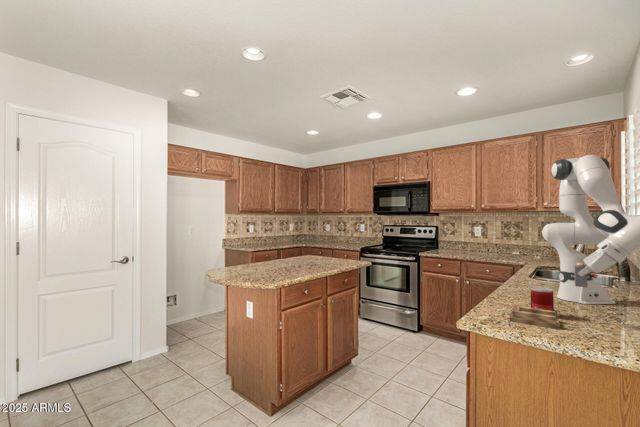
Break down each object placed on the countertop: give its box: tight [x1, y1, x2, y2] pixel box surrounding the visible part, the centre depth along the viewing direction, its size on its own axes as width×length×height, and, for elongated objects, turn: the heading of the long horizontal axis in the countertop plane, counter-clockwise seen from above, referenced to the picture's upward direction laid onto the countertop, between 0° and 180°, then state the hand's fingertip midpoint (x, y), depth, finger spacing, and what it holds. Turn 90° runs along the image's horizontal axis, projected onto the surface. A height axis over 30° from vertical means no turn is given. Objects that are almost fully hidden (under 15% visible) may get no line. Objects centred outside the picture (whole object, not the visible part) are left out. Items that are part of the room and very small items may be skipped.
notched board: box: [509, 305, 561, 330], centre depth 122 cm, size 16×11×4 cm
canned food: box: [530, 286, 555, 311], centre depth 131 cm, size 8×8×11 cm
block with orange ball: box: [574, 263, 587, 287], centre depth 122 cm, size 4×4×9 cm
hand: (578, 273), depth 122 cm, fingers closed on block with orange ball, 4 cm apart
